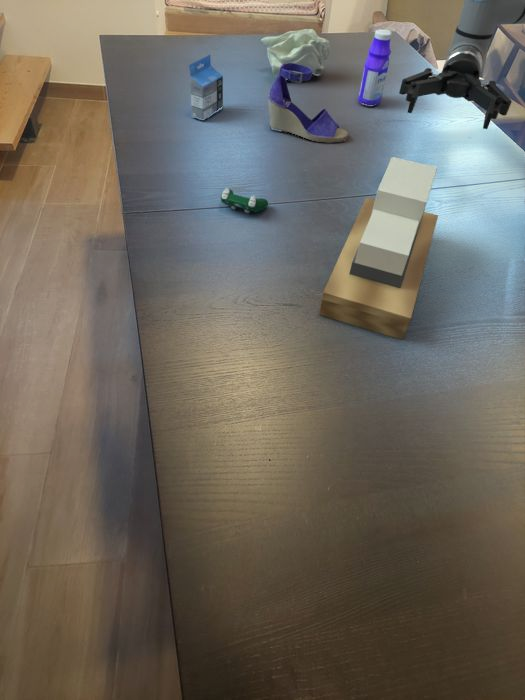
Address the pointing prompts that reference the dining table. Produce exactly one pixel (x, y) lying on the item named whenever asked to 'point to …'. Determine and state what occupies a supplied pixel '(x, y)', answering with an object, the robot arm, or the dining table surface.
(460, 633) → the dining table surface
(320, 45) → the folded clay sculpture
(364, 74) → the bottle
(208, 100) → the ink cartridge box
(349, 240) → the wooden base slab
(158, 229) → the dining table surface
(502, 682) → the dining table surface
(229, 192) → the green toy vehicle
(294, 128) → the sandal
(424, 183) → the white two-tier block
